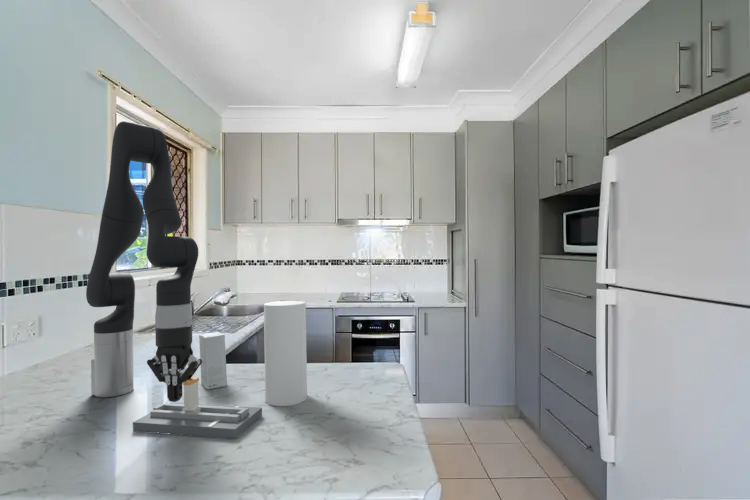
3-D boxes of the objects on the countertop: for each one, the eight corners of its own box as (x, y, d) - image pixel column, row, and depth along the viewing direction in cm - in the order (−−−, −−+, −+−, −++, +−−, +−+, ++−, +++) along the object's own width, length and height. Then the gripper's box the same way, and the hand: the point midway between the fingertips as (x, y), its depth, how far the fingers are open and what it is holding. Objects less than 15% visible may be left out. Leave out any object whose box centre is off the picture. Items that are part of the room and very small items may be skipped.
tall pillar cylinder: (256, 403, 105) (255, 304, 106) (280, 390, 115) (279, 300, 115) (292, 408, 101) (291, 306, 102) (314, 394, 111) (313, 301, 112)
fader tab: (180, 416, 92) (180, 381, 92) (190, 410, 95) (189, 377, 95) (192, 416, 91) (192, 382, 92) (202, 410, 95) (201, 377, 95)
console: (132, 431, 89) (132, 415, 89) (170, 410, 101) (170, 396, 101) (235, 438, 85) (235, 422, 85) (262, 416, 97) (261, 401, 97)
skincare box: (227, 386, 119) (226, 334, 119) (205, 390, 116) (204, 337, 116) (220, 379, 126) (219, 330, 126) (199, 383, 123) (198, 333, 123)
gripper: (136, 326, 92) (137, 405, 92) (189, 327, 89) (190, 408, 89) (159, 321, 99) (160, 393, 99) (210, 321, 97) (210, 396, 96)
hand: (175, 400), depth 94 cm, fingers closed
